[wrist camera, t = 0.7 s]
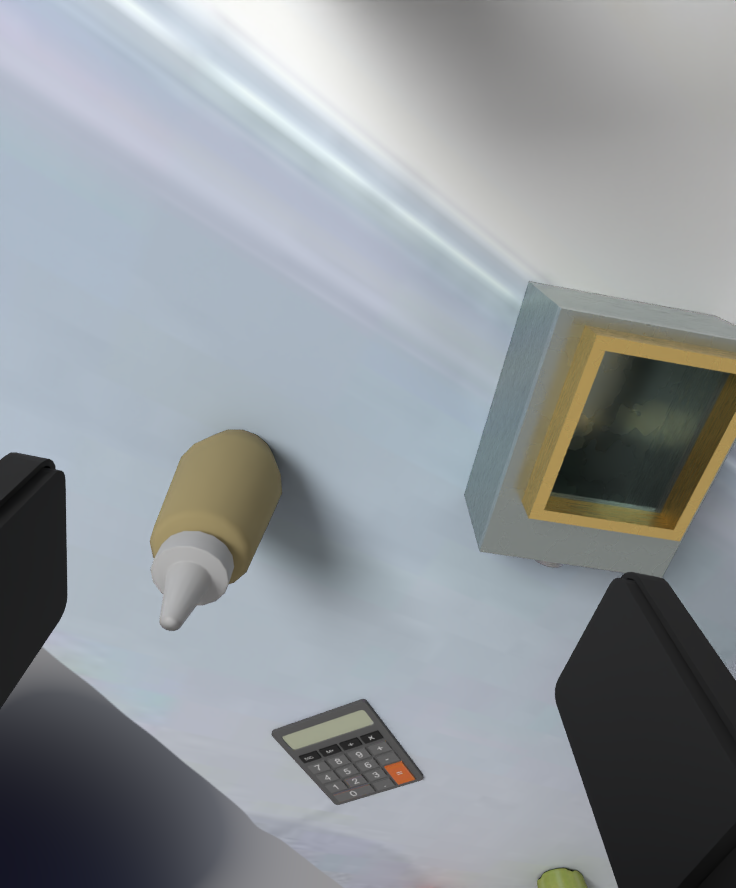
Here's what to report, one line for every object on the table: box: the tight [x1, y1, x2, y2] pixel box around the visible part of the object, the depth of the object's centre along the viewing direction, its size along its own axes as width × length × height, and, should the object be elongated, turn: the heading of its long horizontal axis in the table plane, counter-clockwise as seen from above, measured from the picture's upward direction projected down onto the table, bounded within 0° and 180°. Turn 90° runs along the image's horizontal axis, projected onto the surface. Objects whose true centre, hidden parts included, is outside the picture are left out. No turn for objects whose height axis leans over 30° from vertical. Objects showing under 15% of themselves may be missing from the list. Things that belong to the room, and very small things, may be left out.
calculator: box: [272, 699, 423, 805], centre depth 64 cm, size 12×1×15 cm
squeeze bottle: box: [150, 430, 282, 631], centre depth 38 cm, size 8×8×18 cm
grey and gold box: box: [464, 281, 736, 578], centre depth 41 cm, size 20×14×10 cm
